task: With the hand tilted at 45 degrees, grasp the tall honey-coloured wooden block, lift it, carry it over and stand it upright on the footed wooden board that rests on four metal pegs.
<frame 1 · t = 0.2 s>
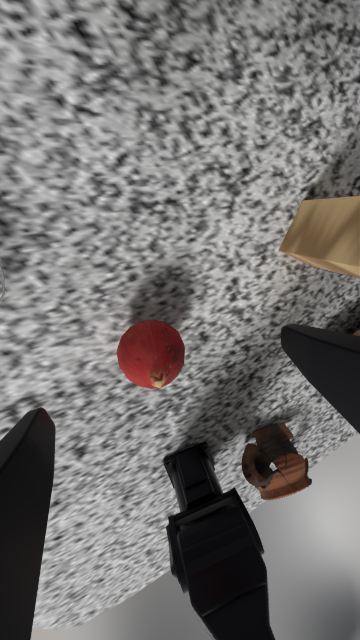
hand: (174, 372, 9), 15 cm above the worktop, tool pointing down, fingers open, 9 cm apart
wooden block: (307, 235, 25), on the worktop
onion: (145, 333, 24), on the worktop
brown jagged curved piece: (258, 444, 37), on the worktop
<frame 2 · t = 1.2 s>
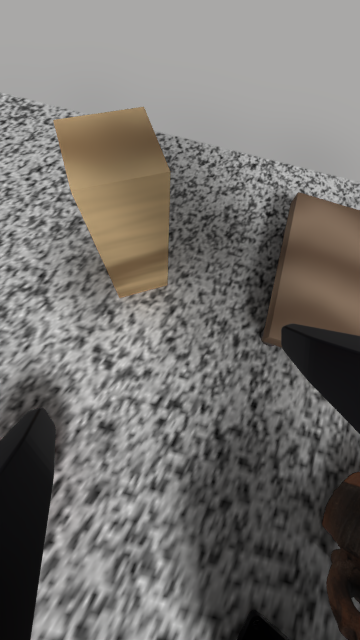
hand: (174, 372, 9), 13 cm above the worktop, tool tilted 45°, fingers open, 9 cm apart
wooden block: (137, 270, 25), on the worktop
footed wooden board: (321, 294, 25), on the worktop
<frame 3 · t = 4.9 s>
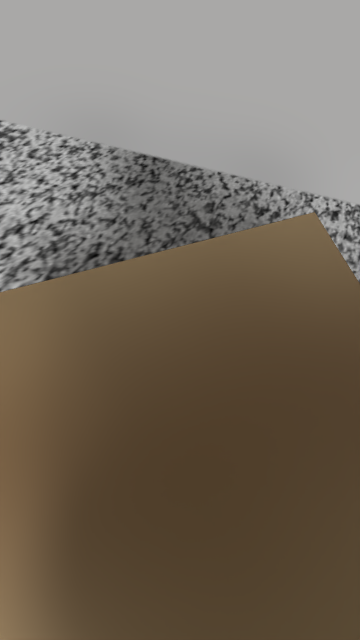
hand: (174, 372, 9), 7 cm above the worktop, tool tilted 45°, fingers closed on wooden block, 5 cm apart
wooden block: (177, 406, 15), on the worktop, touching gripper
when the fingers open (12 cm above the worktop, at t = 9.0 s): wooden block stays where it is, resting on footed wooden board.
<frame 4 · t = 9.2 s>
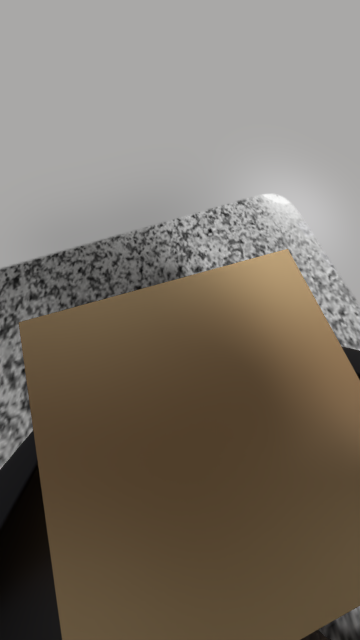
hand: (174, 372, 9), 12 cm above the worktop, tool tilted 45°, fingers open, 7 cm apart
wooden block: (176, 405, 16), point 4 cm above the worktop, touching footed wooden board
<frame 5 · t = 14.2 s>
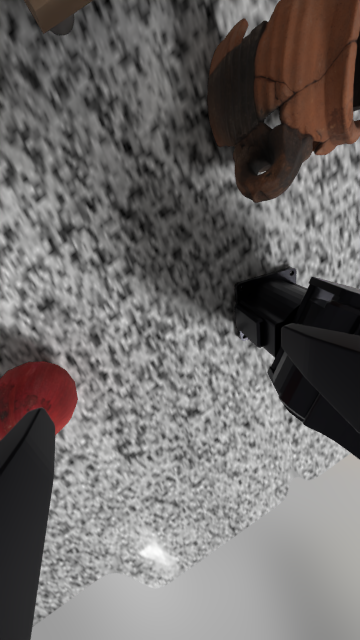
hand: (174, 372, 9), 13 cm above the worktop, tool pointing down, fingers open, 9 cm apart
onion: (46, 370, 21), on the worktop
brown jagged curved piece: (259, 121, 18), on the worktop
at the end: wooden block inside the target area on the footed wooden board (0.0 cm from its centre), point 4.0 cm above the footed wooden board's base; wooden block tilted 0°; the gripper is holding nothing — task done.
